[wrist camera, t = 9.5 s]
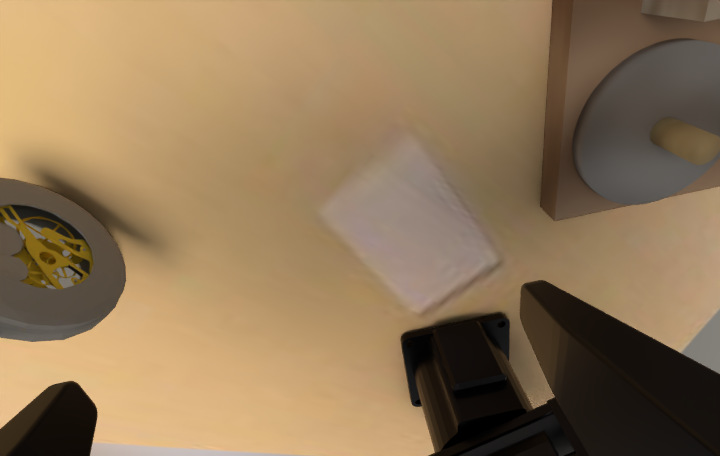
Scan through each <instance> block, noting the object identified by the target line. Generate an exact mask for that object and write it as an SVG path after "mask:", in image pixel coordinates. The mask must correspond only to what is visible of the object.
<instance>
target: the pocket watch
mask: <svg viewBox="0 0 720 456" xmlns="http://www.w3.org/2000/svg"><path fill="white" fill-rule="evenodd" d="M125 282H126V271H125V263H124V260H123V257H122V254H121V251H120V249H119V247H118V245H117V243H116V242H115V241H114V240H113V238H112V237H111V236H110V234H109V233H108V232H107V230H106V229H105V228H104V226H103V225H102V224H101V223H100V222H99V221H97V220H96V219H95V218H94V217H93V216H92V215H91V214H90V213H88V212H87V211H86V210H84V209H83V208H81V207H80V206H79V205H77V204H76V203H74V202H72V201H71V200H69V199H67V198H65V197H63V196H62V195H60V194H57V193H55V192H53V191H50V190H48V189H45V188H43V187H41V186H38V185H34V184H30V183H26V182H22V181H19V180H14V179H6V178H0V337H1V338H7V339H15V340H23V341H30V342H36V341H51V340H64V339H67V338H70V337H72V336H75V335H77V334H80V333H83V332H85V331H88V330H91V329H92V328H93V327H94V326H96V325H97V324H98V323H99V322H100V321H102V320H103V319H104V318H105V317H106V316H107V315H108V314H109V313H110V312H111V311H112V310H113V309H114V308H115V306H116V304H117V302H118V300H119V298H120V296H121V294H122V292H123V290H124V286H125Z"/></svg>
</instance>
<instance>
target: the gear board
mask: <svg viewBox="0 0 720 456" xmlns="http://www.w3.org/2000/svg"><path fill="white" fill-rule="evenodd" d="M718 186H720V0H553V6H552V23H551V39H550V55H549V71H548V87H547V104H546V120H545V136H544V152H543V168H542V185H541V201H540V207H541V208H542V209H543V210H544V211H545V212H546V213H547V214H548V215H549V216H550V217H551V218H552V219H553V220H554V221H558V220H563V219H568V218H572V217H577V216H582V215H586V214H591V213H596V212H601V211H605V210H610V209H615V208H619V207H624V206H629V205H638V204H645V203H650V202H654V201H658V200H661V199H663V198H667V197H671V196H676V195H681V194H685V193H690V192H695V191H700V190H704V189H709V188H714V187H718Z"/></svg>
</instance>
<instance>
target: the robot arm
mask: <svg viewBox="0 0 720 456" xmlns="http://www.w3.org/2000/svg"><path fill="white" fill-rule="evenodd" d="M520 318H521V322H522V325H523V327H524V330H525V332H526V334H527V336H528V339H529V341H530V343H531V345H532V348H533V350H534V352H535V354H536V357H537V359H538V361H539V363H540V366H541V368H542V370H543V372H544V375H545V377H546V379H547V381H548V384H549V386H550V388H551V390H552V392H553V394H554V396H555V398H552V399H550V400H548V401H547V403H546V404H544V405H542V406H539V407H537V408H535V409H533V407H532V405H531V403H530V401H529V399H528V397H527V396H526V394H525V392H524V390H523V388H522V386H521V384H520V382H519V380H518V379H517V377H516V375H515V373H514V371H513V369H512V367H511V365H510V363H509V327H510V322H509V320H508V318H507V316H506V315H505V314H495V315H490V316H486V317H481V318H476V319H472V320H467V321H462V322H458V323H453V324H449V325H444V326H439V327H435V328H430V329H425V330H421V331H416V332H411V333H407V334H405V335H403V336H402V337H401V346H402V352H403V358H404V364H405V370H406V376H407V381H408V387H409V393H410V399H411V403H412V405H413V406H416V407H420V406H422V408H423V411H424V415H425V418H426V422H427V425H428V429H429V433H430V436H431V440H432V443H433V447H434V451H435V453H433V454H431V455H429V456H720V374H719V373H717V372H715V371H713V370H711V369H709V368H707V367H706V366H704V365H702V364H700V363H698V362H696V361H694V360H692V359H691V358H689V357H687V356H685V355H683V354H681V353H679V352H678V351H676V350H674V349H672V348H670V347H668V346H666V345H664V344H663V343H661V342H659V341H657V340H655V339H653V338H651V337H649V336H648V335H646V334H644V333H642V332H640V331H638V330H636V329H634V328H633V327H631V326H629V325H627V324H625V323H623V322H621V321H619V320H618V319H616V318H614V317H612V316H610V315H608V314H606V313H604V312H603V311H601V310H599V309H597V308H595V307H593V306H591V305H589V304H588V303H586V302H584V301H582V300H580V299H578V298H576V297H574V296H573V295H571V294H569V293H567V292H565V291H563V290H561V289H559V288H558V287H556V286H554V285H552V284H550V283H548V282H546V281H543V280H538V281H534V282H529V283H525V284H523V285H522V287H521V298H520ZM499 322H500V323H499ZM409 341H411V342H409ZM96 422H97V408H96V406H95V404H94V403H93V401H92V400H91V399H90V398H89V396H88V395H87V394H86V393H85V391H84V390H83V389H82V388H81V387H80V385H79V384H78V383H76V382H74V381H68V382H63V383H58V384H54V385H52V386H50V387H48V388H47V389H46V390H44V391H43V392H42V393H41V394H40V395H39V396H38V397H36V398H35V399H34V400H33V401H32V402H31V403H30V404H28V405H27V406H26V407H25V408H24V409H23V410H22V411H20V412H19V413H18V414H17V415H16V416H15V417H14V418H12V419H11V420H10V421H9V422H8V423H7V424H6V425H4V426H3V427H2V428H1V429H0V456H90V452H91V447H92V442H93V437H94V432H95V427H96Z"/></svg>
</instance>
